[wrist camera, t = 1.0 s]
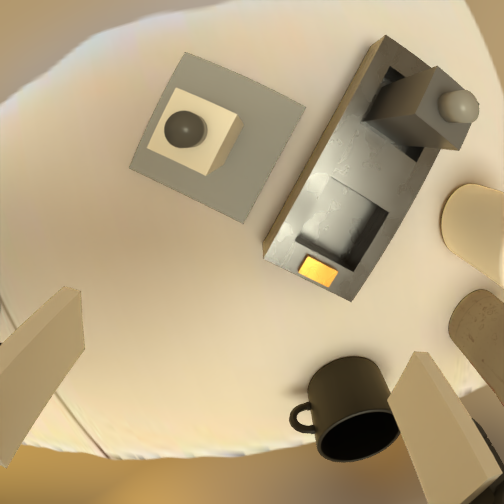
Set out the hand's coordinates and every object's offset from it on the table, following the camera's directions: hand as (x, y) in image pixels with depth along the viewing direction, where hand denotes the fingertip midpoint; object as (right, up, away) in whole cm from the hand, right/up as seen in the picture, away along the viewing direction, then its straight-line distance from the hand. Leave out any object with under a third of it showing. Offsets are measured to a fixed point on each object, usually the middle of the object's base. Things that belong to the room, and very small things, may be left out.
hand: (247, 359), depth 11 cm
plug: (-3, +14, +15) cm, 21 cm away
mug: (+10, -13, +25) cm, 30 cm away
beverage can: (+24, +8, +18) cm, 31 cm away
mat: (-3, +14, +16) cm, 22 cm away
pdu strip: (+10, +12, +16) cm, 23 cm away
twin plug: (+13, +16, +14) cm, 25 cm away
